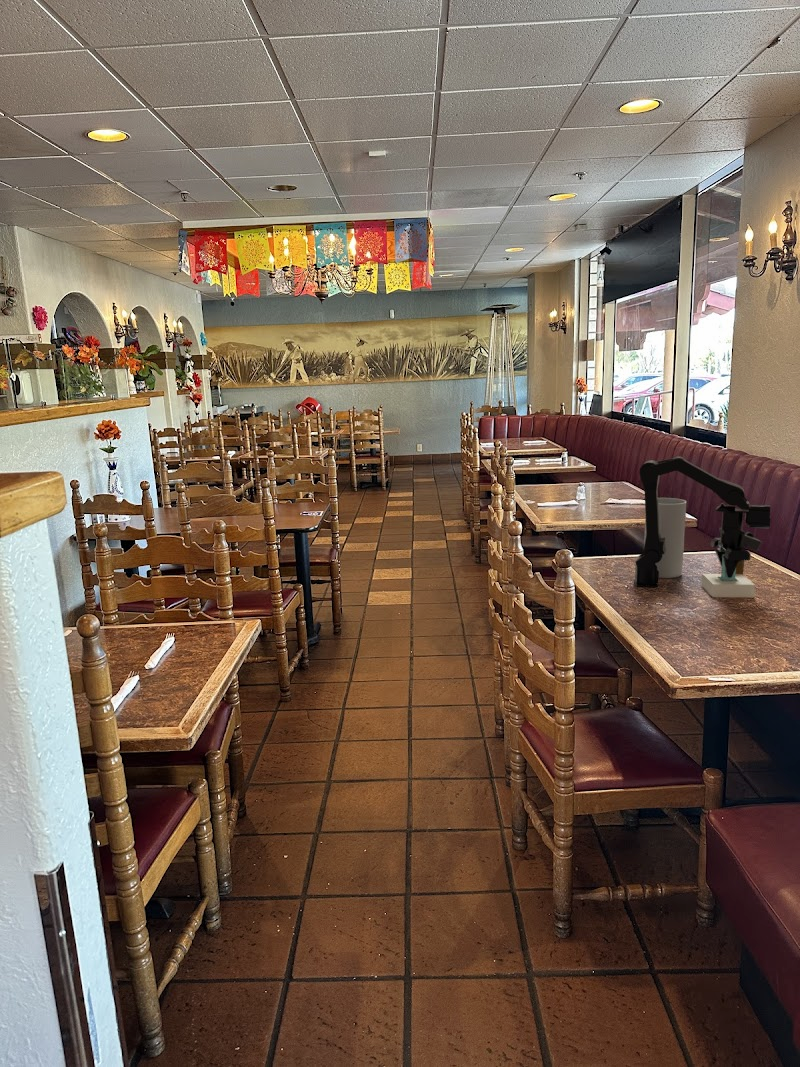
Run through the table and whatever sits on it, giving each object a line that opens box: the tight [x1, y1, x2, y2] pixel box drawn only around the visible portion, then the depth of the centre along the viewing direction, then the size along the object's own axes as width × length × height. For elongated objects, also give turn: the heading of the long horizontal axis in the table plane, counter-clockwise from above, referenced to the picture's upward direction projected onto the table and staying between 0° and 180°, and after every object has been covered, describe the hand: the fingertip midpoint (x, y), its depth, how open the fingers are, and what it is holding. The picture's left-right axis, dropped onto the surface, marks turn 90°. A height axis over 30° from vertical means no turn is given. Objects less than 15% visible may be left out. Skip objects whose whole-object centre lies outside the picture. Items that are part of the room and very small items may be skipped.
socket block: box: [701, 573, 756, 599], centre depth 226 cm, size 12×12×4 cm
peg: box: [720, 554, 736, 581], centre depth 225 cm, size 3×3×9 cm
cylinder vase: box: [643, 497, 687, 579], centre depth 245 cm, size 12×12×25 cm
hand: (727, 575), depth 225 cm, fingers closed on peg, 3 cm apart
